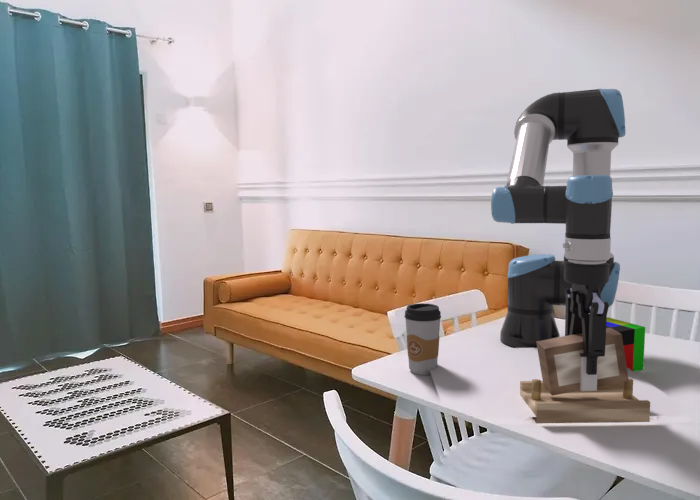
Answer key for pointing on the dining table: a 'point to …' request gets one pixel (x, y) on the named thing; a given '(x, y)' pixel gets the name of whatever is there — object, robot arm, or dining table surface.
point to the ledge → (585, 404)
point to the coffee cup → (422, 337)
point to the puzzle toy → (630, 342)
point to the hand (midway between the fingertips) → (582, 384)
